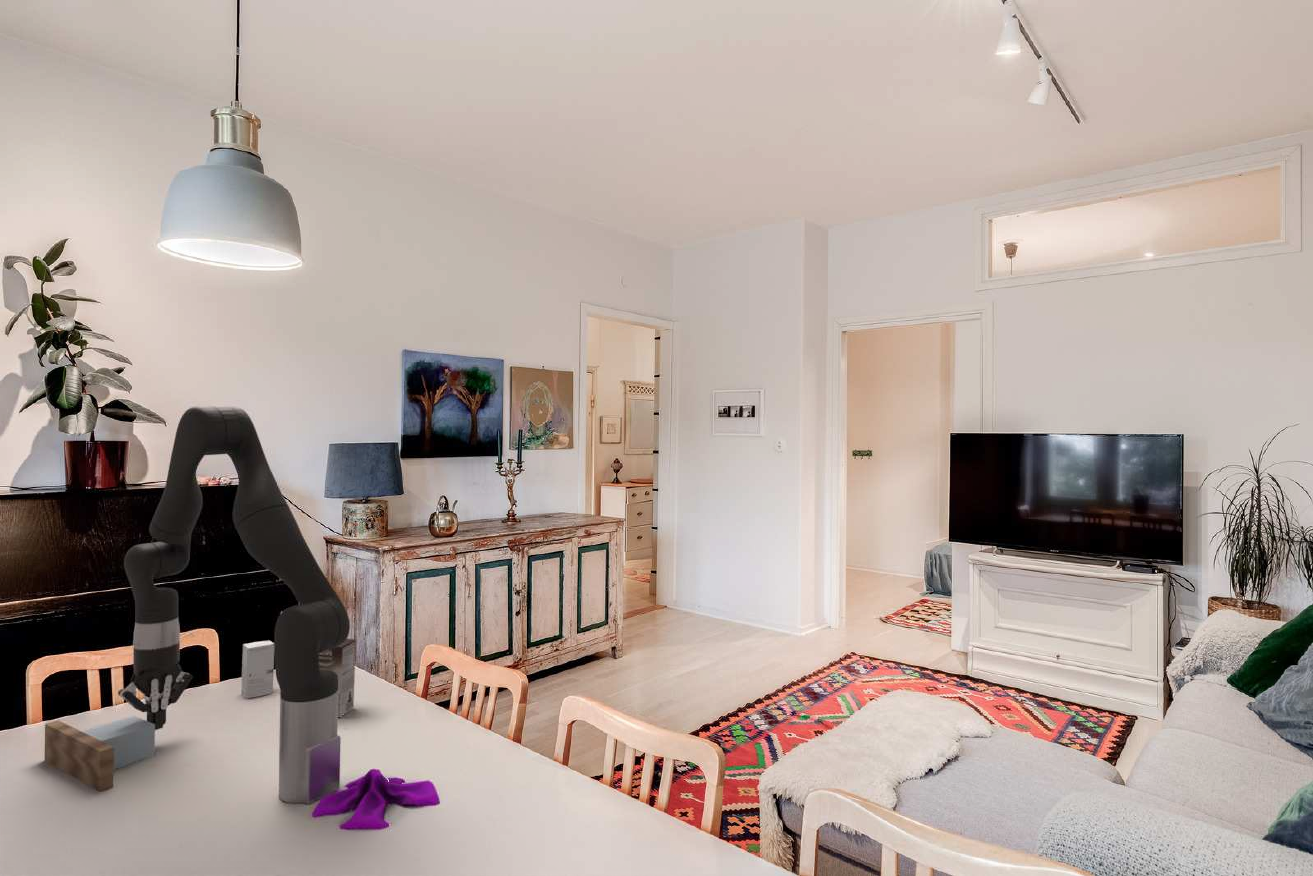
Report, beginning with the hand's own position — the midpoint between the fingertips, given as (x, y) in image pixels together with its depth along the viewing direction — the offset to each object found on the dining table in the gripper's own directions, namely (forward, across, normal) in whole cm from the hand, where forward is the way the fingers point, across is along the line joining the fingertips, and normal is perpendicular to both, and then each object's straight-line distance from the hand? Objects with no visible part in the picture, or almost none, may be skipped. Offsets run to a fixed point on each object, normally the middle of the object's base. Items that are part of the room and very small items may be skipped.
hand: (156, 728), depth 140 cm
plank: (+3, -13, 0) cm, 14 cm away
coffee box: (+4, +29, -13) cm, 32 cm away
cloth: (+4, +9, -53) cm, 54 cm away
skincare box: (+4, +27, +11) cm, 29 cm away
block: (+4, -7, 0) cm, 8 cm away
